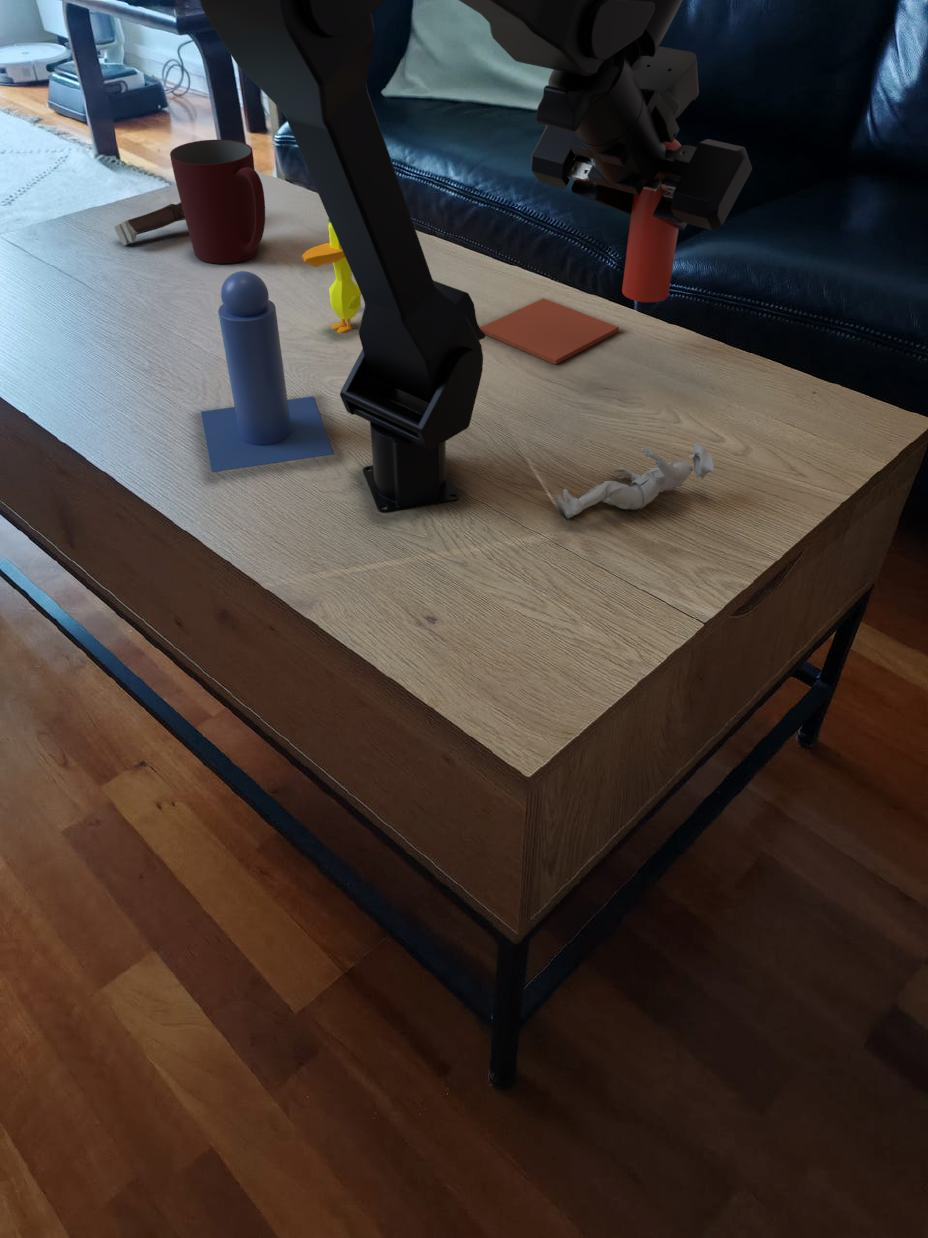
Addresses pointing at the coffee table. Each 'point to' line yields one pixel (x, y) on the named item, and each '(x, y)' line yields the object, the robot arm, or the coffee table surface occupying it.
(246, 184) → the mug
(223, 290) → the blue skittle
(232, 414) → the blue mat
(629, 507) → the soldier figure
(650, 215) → the red skittle
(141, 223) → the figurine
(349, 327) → the toy figure
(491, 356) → the coffee table surface
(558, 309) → the red mat
